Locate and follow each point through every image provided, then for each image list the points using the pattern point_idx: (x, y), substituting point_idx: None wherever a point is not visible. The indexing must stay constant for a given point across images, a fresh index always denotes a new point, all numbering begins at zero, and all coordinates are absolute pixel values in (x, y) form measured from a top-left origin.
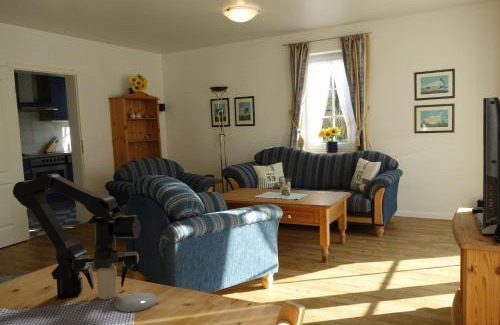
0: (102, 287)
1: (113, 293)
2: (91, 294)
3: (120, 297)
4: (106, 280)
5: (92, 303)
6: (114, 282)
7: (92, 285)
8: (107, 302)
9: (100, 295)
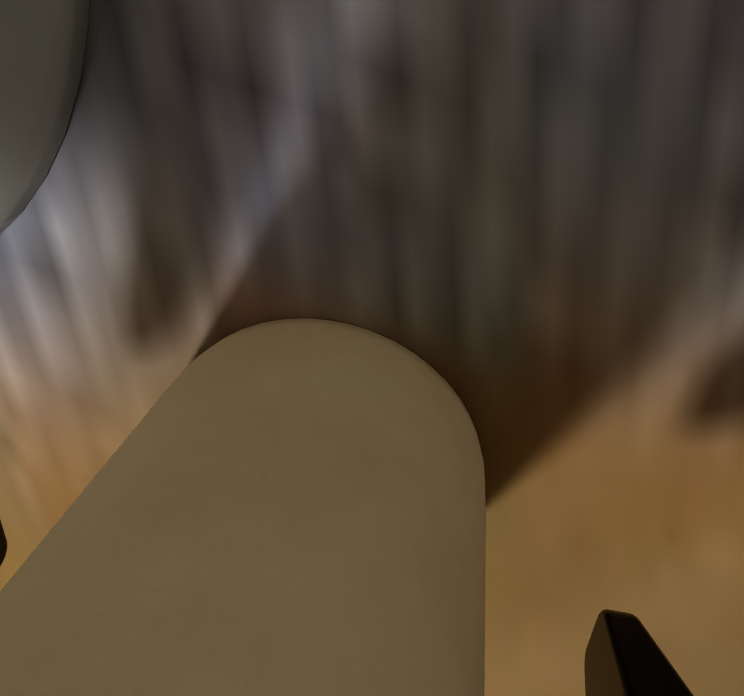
0: (348, 502)
1: (172, 387)
2: (599, 607)
3: (2, 179)
4: (123, 651)
5: (609, 191)
6: (8, 583)
7: (628, 692)
8: (285, 134)
9: (435, 406)
